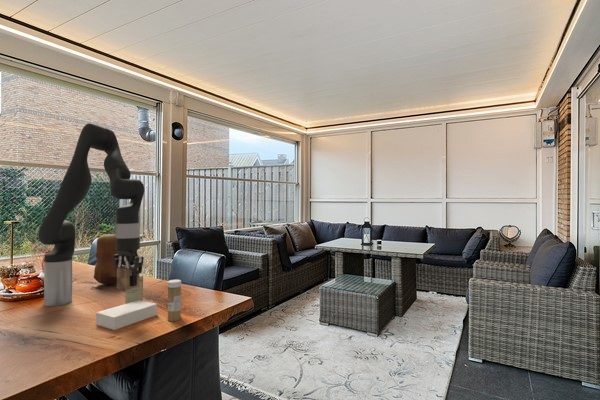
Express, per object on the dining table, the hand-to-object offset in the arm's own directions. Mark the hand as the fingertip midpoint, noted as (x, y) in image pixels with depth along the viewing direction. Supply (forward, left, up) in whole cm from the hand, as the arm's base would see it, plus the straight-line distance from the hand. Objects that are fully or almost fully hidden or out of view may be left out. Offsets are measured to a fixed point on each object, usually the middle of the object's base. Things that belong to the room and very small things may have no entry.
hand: (128, 284), depth 116 cm
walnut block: (0, 0, -1) cm, 1 cm away
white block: (0, 0, -12) cm, 12 cm away
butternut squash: (-53, +26, -12) cm, 60 cm away
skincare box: (-11, +10, -12) cm, 19 cm away
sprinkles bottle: (+14, +8, -12) cm, 20 cm away
